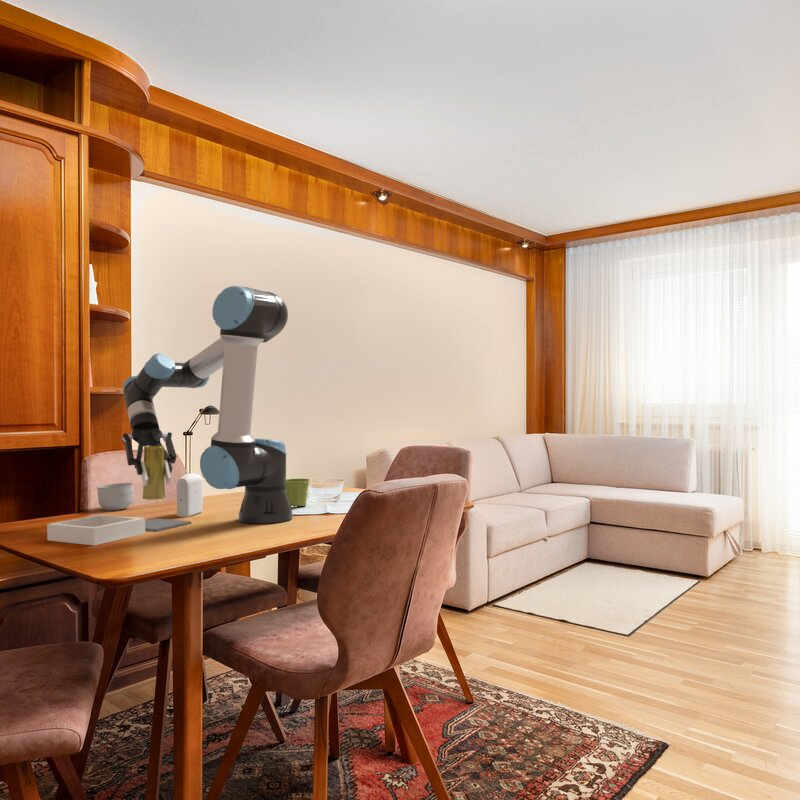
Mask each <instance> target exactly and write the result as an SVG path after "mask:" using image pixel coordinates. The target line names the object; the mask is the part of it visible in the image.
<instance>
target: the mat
mask: <svg viewBox="0 0 800 800" xmlns="http://www.w3.org/2000/svg"><path fill="white" fill-rule="evenodd" d="M190 524H192V521H191V520H189V521H188V520H178V519H176V520H175V519H166V518H152V519H145V532H146V531H148V532H160V531H164V530H169V529H174V528H178V527H182V526H187V525H190Z"/></svg>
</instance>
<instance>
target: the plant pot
mask: <svg viewBox="0 0 800 800" xmlns="http://www.w3.org/2000/svg"><path fill="white" fill-rule="evenodd" d="M310 480H311V479H310V478H286V494H287V497H288V500H289V503H290V506H299V507H300V506H304V505H306V506H307V502H308V501H307V499H308V492H307V491H309V486H308V485H310V482H311V481H310ZM308 481H309V482H308ZM305 482H306V483H305ZM308 483H309V484H308ZM304 507H305V506H304Z"/></svg>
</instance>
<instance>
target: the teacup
mask: <svg viewBox="0 0 800 800" xmlns="http://www.w3.org/2000/svg"><path fill="white" fill-rule="evenodd" d="M96 489H97V499H98V500H97V501H98V504H99V506H100V507H101V508H102V509H104V510H105V511H118V510H124V509H125V510H126V509H127V508H129V507H130V505H131V504H132V503H133V502H134V483H133V482H119V483H107V484H103V485H102V484H101V485H98V486H97V487H96Z"/></svg>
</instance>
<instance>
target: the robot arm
mask: <svg viewBox="0 0 800 800" xmlns="http://www.w3.org/2000/svg"><path fill="white" fill-rule="evenodd" d="M211 312H212V318H213V320H214V323H215V325H216V326H217V327H218V328H219V329H220V330H219V337H220V338H218V339H216V340H215V341H214V342H213V343H211V344H210V345H208V346H207V347H205V348H204V349H203V350H201V351H200V352H199V353H197V354H195V355H194V356H193V357H191V358H190V359H188V360H187V361H185V362H175V361H174V360H173V359H172V358H171V357H170V356H168V355H165V354H163V353H161V352H160V353H154V354H153V355H152V356H151V357H150V358H149V359H148V361H146V362H145V363H144V366H143V367H142V369H140V371H139V373H138V374H137V375H134V376H130V377H129V378H126V379H125V380H124V382H123V384H122V390H123V392H122V393H123V394H122V395H123V399H124V401H125V406H126V411H127V415H128V421H129V426H130V430H131V433H129V434H128V433H125V432H124V433H123V435H122V438H121V442H122V444H124V447H125V454H126V462H127V465H128V466H134V468H135V469H136V474H137V475H138V476H141V480H142V485H144V486H147V482H148V476H147V471H146V467H145V462H144V460H142V457H143V453H144V446H163V444H162V443H161V439H163V443H164V442H165V448H166V449H165V448H164V479H165V484H166V485H171V481H172V475H171V474H172V472H173V465H174V464H176V460H177V456H178V455H177V453H176V450H175V446H174V443H173V440H172V435H173V433H172V432H167V433H163V432H162V430H161V429H160V426H159V421H158V418H157V413H156V409H155V405H154V400H153V399H154V398H155V397H156V395H157V394H158V393H159V391H160V390H161V389H162V388H188V389H189V388H190V389H198V388H203V387H205V386H206V385H207V383H208V381H209V380H210V376H211V375H213V374H214V373H216V372H217V371H219V370H220V369H222V379H221V387H220V388H221V389H220V391H221V392H220V400H219V401H220V402H219V413H218V424H217V425H218V426H217V427H218V428H217V431H216V433H214V434H213V435H212V436H211V439H210V446H209V447H207V448H205V449H204V450H203V452H202V453H201V455H200V459H199V466H200V472H201V475H202V477H203V479H205V481H206V483H207V484H208V485H209V486H210V487H212V488H214V489H217V490H232V489H235V488H241V487H244V495H243V499H242V501H241V504H240V509H239V511H238V521H239V522H241V523H247V524H275V523H282V522H287V521H291V520H293V508H291V506H290V503H289V500H288V497H287V494H286V479H287V453H286V449H287V448H286V444H285V443H284V441H282V440H277V439H265V438H254V436H253V435H251V430H252V429H251V428H252V420H253V419H252V417H253V416H252V415H253V404H254V393H255V384H256V370H257V361H258V360H257V357H258V347H259V345H260V344H261V343H268V342H269V341H270V340H272V339H273V338H275V337H277V336H278V335H279V334H280V333H281V332H282V331H283V329H285V326H286V325H287V323H288V318H289V314H288V312H289V311H288V307H287V305H286V303H285V301H284V300H283V299H282V298H281V297H280V296H279V295H277V294H275V293H273V292H270V291H264V290H262V289H261V290H260V289H256V288H252V287H248V286H239V285H231V286H227V287H225V288H224V289H222V291H221V292H220V293H218V295H217V296H216V298H215V299H214V302H213V306H212V311H211ZM132 440H133V441H135V443H137V444H138V446H137V454H136V458H135V456H134V450H133V444H132ZM172 464H173V465H172Z"/></svg>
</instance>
